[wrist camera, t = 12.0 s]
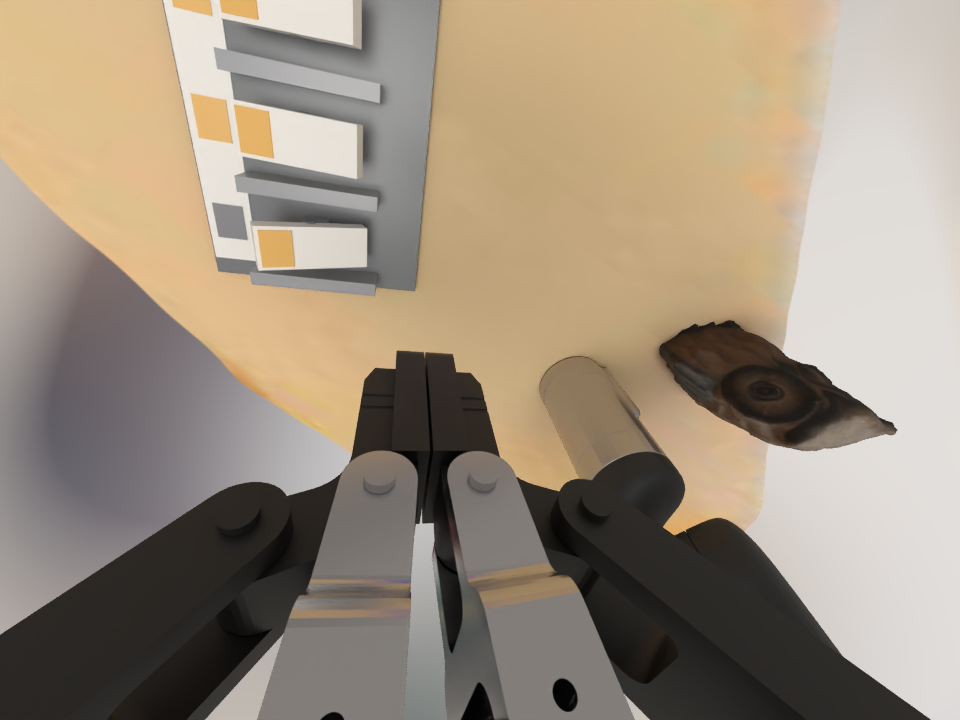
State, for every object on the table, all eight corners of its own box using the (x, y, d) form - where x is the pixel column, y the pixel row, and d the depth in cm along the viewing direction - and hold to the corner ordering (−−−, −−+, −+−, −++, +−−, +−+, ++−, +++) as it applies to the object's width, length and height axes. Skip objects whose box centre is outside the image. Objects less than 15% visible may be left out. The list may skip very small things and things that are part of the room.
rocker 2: (360, 221, 34) (367, 227, 33) (360, 261, 36) (367, 268, 35) (248, 218, 30) (252, 225, 28) (255, 263, 32) (259, 272, 30)
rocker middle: (364, 123, 28) (356, 123, 26) (364, 177, 30) (356, 180, 28) (245, 99, 28) (228, 96, 26) (252, 155, 30) (237, 157, 28)
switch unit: (442, -38, 28) (447, -60, 24) (414, 287, 41) (415, 303, 38) (143, -130, 23) (96, -173, 20) (222, 267, 37) (203, 283, 33)
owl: (649, 345, 51) (763, 454, 35) (734, 285, 48) (903, 375, 31) (682, 393, 58) (790, 504, 41) (758, 343, 54) (909, 443, 38)
